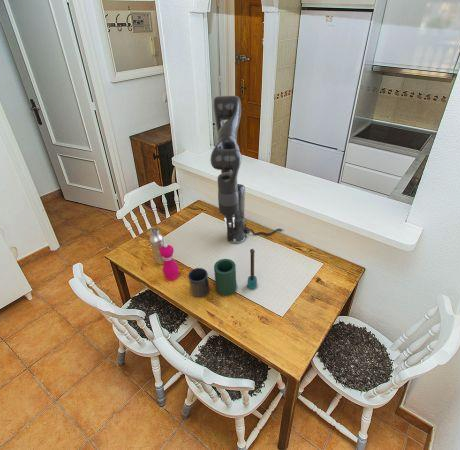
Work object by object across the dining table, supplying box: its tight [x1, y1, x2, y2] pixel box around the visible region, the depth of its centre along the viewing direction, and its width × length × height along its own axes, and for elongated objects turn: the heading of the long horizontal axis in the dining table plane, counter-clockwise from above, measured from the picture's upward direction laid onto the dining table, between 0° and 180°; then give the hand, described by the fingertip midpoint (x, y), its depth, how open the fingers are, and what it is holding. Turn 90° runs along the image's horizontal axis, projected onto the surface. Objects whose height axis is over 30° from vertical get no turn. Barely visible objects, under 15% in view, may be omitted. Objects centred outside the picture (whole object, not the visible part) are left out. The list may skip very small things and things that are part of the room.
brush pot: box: [187, 267, 210, 298], centre depth 141 cm, size 8×8×10 cm
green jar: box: [213, 258, 237, 297], centre depth 140 cm, size 9×9×14 cm
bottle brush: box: [247, 248, 258, 290], centre depth 138 cm, size 4×4×22 cm
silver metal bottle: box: [148, 227, 165, 265], centre depth 153 cm, size 6×7×20 cm
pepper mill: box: [160, 243, 180, 282], centre depth 145 cm, size 7×7×20 cm
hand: (230, 233), depth 128 cm, fingers open, 8 cm apart
